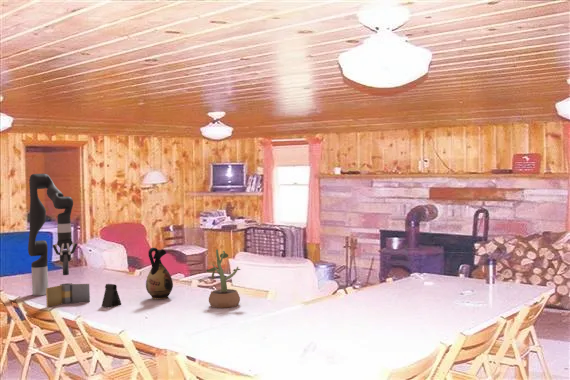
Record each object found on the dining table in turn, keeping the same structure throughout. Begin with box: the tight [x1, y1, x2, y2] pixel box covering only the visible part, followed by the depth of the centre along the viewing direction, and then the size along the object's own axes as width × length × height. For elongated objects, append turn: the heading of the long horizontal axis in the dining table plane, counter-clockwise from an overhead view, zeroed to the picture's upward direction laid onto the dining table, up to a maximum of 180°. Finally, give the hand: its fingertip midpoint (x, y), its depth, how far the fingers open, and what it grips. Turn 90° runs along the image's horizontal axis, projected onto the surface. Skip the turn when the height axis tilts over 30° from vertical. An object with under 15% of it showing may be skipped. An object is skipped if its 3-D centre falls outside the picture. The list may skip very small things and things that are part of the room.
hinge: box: [45, 282, 91, 308], centre depth 356 cm, size 10×23×10 cm, turn 118°
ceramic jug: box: [145, 247, 174, 300], centre depth 363 cm, size 17×15×30 cm
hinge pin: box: [62, 249, 70, 276], centre depth 357 cm, size 4×4×14 cm
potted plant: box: [205, 249, 242, 309], centre depth 342 cm, size 22×18×30 cm
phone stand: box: [101, 283, 122, 309], centre depth 346 cm, size 9×6×12 cm, turn 146°
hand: (65, 261), depth 357 cm, fingers closed on hinge pin, 3 cm apart
